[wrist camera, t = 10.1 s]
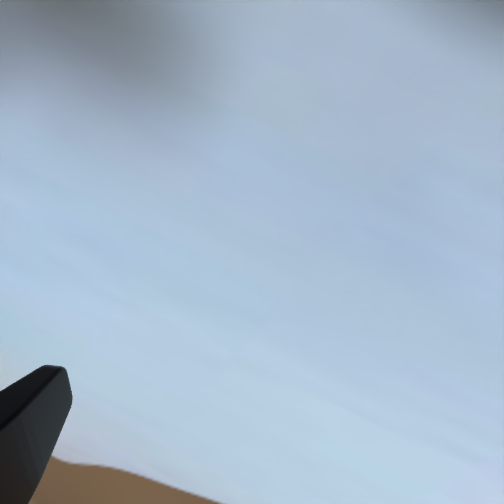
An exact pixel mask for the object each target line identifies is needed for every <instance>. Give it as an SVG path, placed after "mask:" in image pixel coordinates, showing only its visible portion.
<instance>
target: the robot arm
mask: <svg viewBox="0 0 504 504" xmlns="http://www.w3.org/2000/svg"><path fill="white" fill-rule="evenodd" d="M71 405H72V391H71V387H70V383H69V378H68V374H67V371H66V369H65V368H64V367H61V366H53V365H44V366H41V367H39V368H38V369H36V370H34V371H33V372H31V373H30V374H28V375H26V376H25V377H23V378H21V379H20V380H18V381H16V382H15V383H13V384H11V385H10V386H8V387H7V388H5V389H3V390H2V391H0V504H28V503H29V501H30V499H31V497H32V496H33V494H34V492H35V489H36V488H37V486H38V484H39V482H40V480H41V478H42V475H43V473H44V471H45V469H46V466H47V464H48V462H49V459H50V457H51V454H52V452H53V449H54V447H55V445H56V442H57V440H58V437H59V435H60V433H61V430H62V428H63V425H64V423H65V420H66V418H67V416H68V413H69V411H70V408H71Z"/></svg>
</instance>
